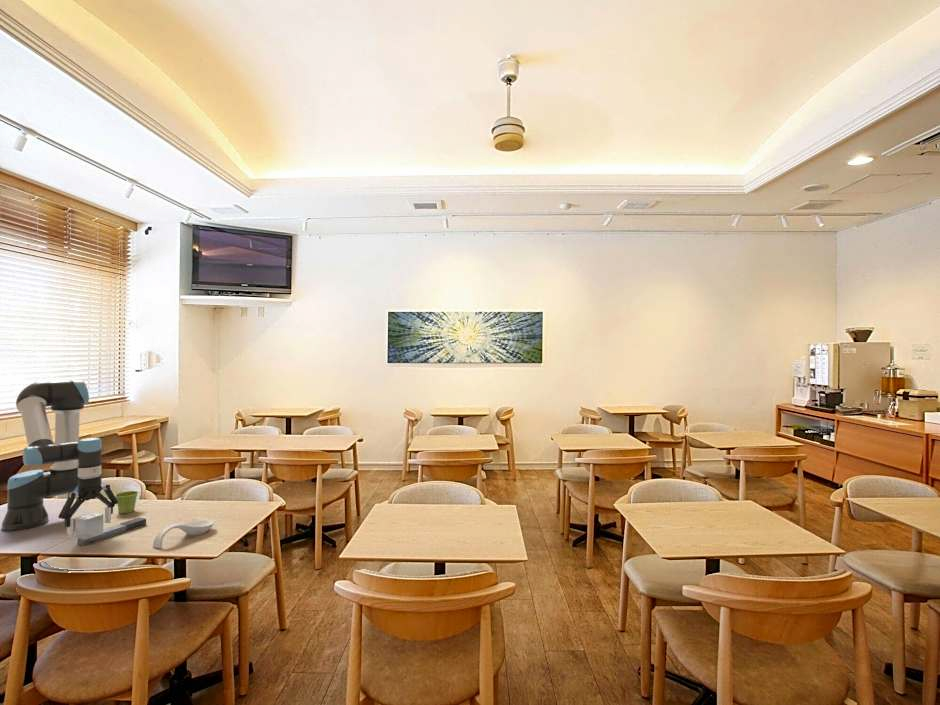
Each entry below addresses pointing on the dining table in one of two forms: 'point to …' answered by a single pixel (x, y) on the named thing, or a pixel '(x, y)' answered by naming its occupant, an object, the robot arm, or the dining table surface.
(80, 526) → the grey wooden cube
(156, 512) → the dining table surface
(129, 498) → the plant pot
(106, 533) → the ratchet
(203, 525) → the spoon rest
